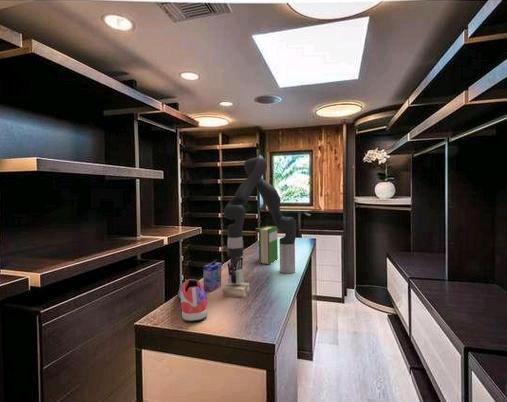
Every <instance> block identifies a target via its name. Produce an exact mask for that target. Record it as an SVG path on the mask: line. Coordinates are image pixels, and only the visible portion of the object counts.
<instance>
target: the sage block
mask: <svg viewBox="0 0 507 402" xmlns="http://www.w3.org/2000/svg"><path fill="white" fill-rule="evenodd" d="M234 272H235V270H234ZM243 275H244V274H243V268H242V269H238V270H237V271H236V283H231V275H229V274H228V279H229V284H238V285H239V284H240V283H241V282H243Z"/></svg>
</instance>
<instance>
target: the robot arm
mask: <svg viewBox="0 0 507 402" xmlns="http://www.w3.org/2000/svg"><path fill="white" fill-rule="evenodd" d="M266 160H267V159H265V157H262V156H258V157H253V158H250V159H246V160H245V162H244V164H243V165H244V166H243V168H244V170H245V172H246V175H247V177H246V179H245V180H244V181H243V182H241V184H240V185H239V187H238V188H237V190H236V192H235V193H234V196H233V197H232V198H231V199H230V200H229V201H228V202H227V204H226V205H225V207H224V209H223V217H225V218H226V219H228V220H234V223H231V224H229V225H228V226H227V257H229V258H230V262H228V263H227V271H228V276H229V275H231V283H236V271H237V270H238V269H243V264H244V257H243V256H244V240H243V227H244V224H245V223H244V222H245V218H246V215H247V213H246V208H245V207H244V206H245V205H247V203H248V201H249V200H250V197H251V195H252V192H253V191H254V189H255V188H256V189H257V192H258V193H259V195H260V196H261V199H262V200H263V202H264V204H265V205H266V207H267V209H268V211H269V213H270V215H271V217H272V219H273V220H272V221H273V223H274V226H276V227H277V231H279V232H283V233H285V234H284V236H283V237H279V242H278V243H279V272H280V273H281V274H294V273H296V246H295V245H296V237H297V220H296V219H295V218H294V217H292V216H284V215H283V213H282V212H281V197H280V195H279V193H278V190H277V189H276V187H274V186H273V185H272V184H270V183H269V182H268V181H267V180H265V179H264V177H263V175H264V174H265V173H266V171H267V169H268V168H267V167H268V163H267V161H266ZM234 270H235V272H234Z"/></svg>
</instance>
